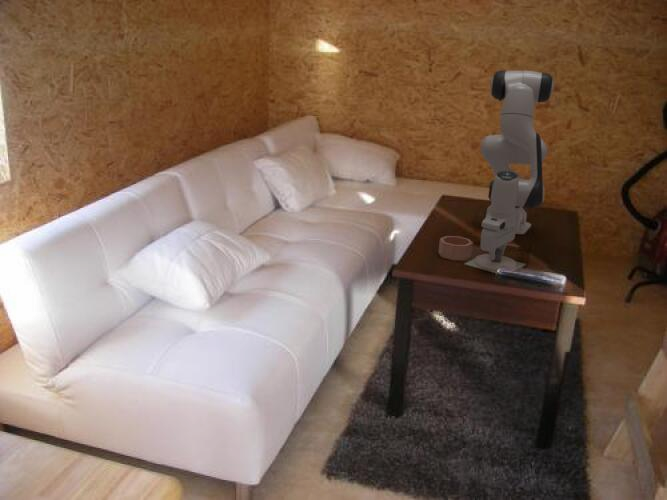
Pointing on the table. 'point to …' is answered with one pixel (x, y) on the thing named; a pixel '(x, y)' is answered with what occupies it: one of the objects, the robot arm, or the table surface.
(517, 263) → the mat
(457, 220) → the table surface
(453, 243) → the bowl
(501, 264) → the lid
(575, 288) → the table surface
